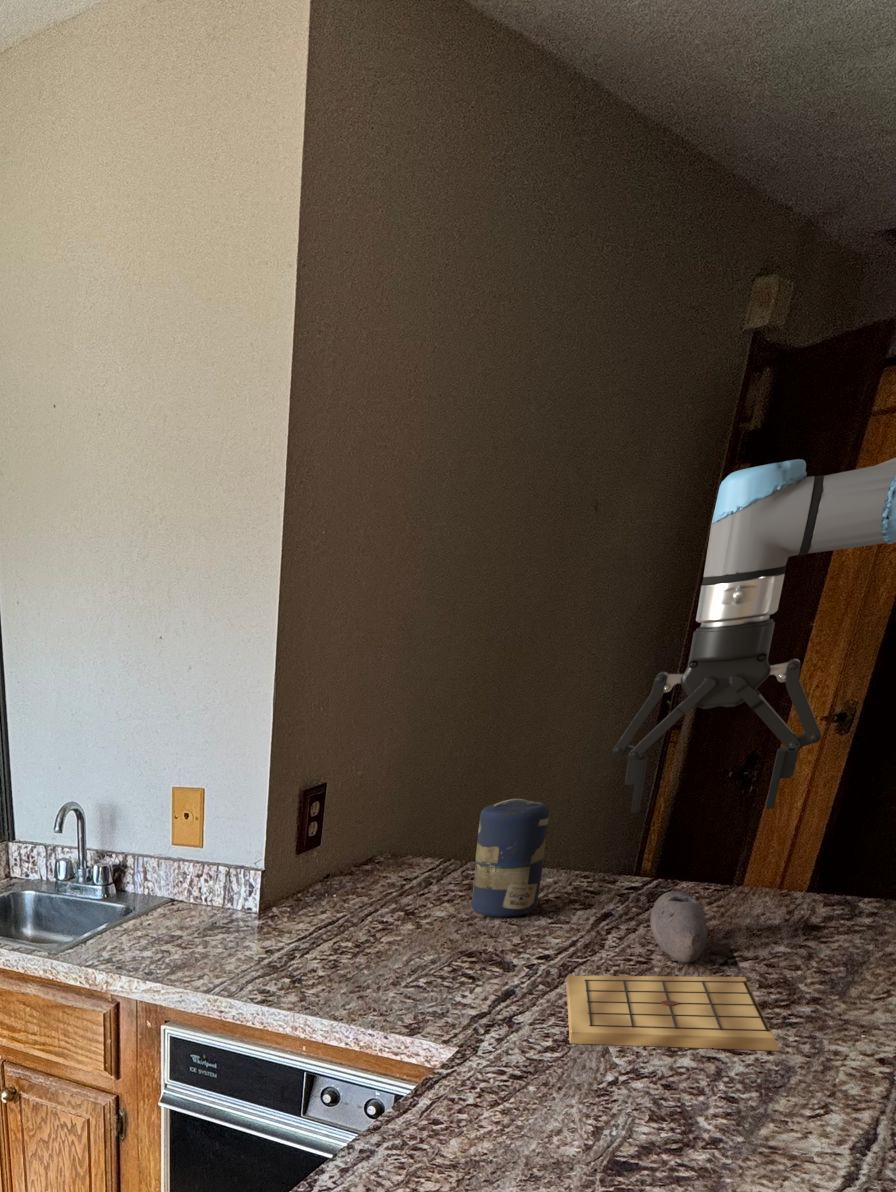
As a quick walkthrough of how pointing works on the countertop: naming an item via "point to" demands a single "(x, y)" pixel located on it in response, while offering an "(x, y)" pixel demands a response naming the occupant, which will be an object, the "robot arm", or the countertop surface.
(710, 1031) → the board
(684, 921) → the perforated stone tool
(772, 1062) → the countertop surface
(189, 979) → the countertop surface
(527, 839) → the canister
